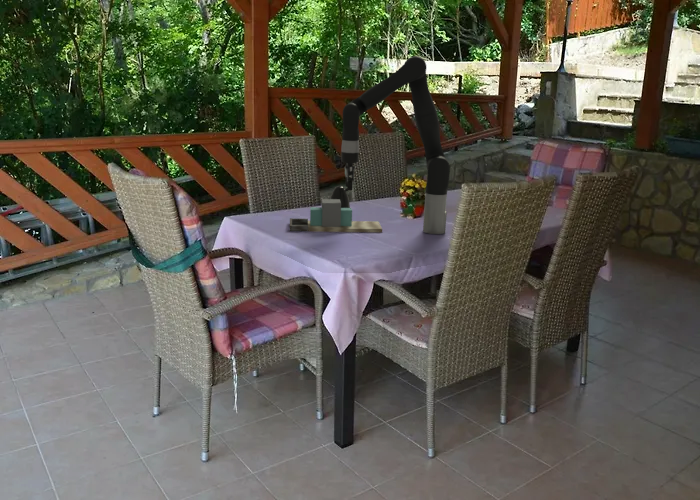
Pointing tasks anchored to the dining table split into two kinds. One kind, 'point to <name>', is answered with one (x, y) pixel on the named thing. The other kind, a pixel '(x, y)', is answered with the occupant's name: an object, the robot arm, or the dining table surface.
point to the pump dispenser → (341, 196)
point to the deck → (356, 227)
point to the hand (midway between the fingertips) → (348, 188)
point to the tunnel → (331, 213)
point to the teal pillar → (317, 216)
